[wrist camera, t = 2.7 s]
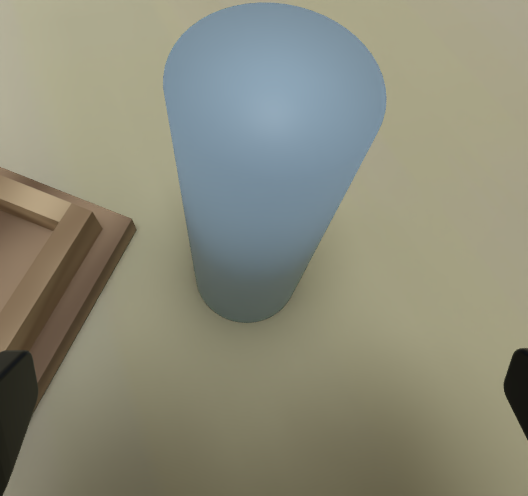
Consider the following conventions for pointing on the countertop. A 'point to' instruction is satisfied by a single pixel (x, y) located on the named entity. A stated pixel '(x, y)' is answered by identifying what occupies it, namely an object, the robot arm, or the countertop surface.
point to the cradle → (52, 267)
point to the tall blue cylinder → (266, 145)
